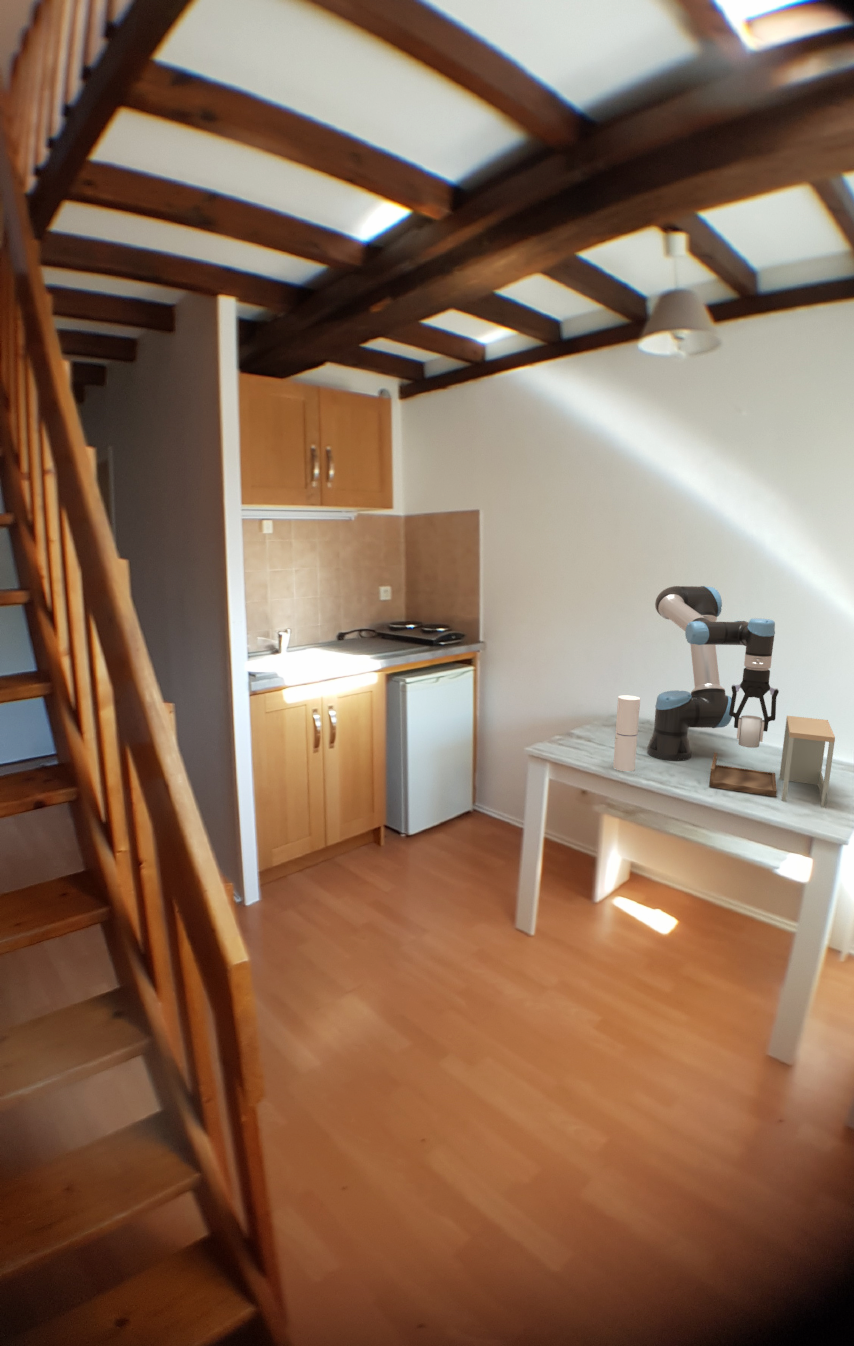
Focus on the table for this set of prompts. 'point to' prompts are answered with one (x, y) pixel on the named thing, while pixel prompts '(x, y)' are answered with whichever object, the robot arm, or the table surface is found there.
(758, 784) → the tray
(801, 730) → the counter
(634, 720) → the cylindrical container
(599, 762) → the table surface
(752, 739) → the beige rounded cylinder
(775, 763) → the table surface
